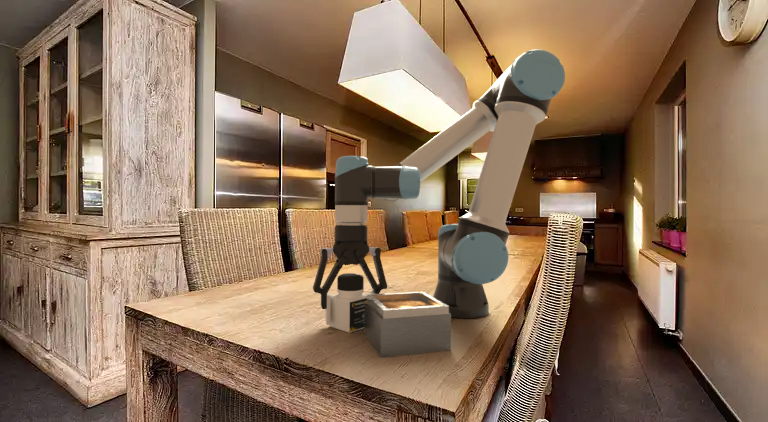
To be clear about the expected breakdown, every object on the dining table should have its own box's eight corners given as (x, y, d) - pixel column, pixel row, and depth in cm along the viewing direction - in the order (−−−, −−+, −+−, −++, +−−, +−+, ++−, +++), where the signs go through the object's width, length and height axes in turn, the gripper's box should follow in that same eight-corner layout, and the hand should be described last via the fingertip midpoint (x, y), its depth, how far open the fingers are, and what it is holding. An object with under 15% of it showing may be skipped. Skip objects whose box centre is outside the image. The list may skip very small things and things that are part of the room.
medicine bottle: (349, 333, 79) (350, 278, 79) (328, 326, 83) (328, 274, 83) (372, 325, 84) (372, 274, 84) (350, 319, 89) (351, 270, 89)
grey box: (424, 328, 82) (425, 291, 82) (450, 350, 70) (451, 305, 70) (364, 334, 79) (364, 294, 79) (380, 357, 66) (380, 310, 66)
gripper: (392, 223, 91) (391, 313, 90) (300, 223, 84) (299, 320, 84) (402, 224, 83) (401, 322, 83) (302, 224, 77) (301, 330, 77)
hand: (350, 321), depth 84 cm, fingers closed on medicine bottle, 10 cm apart
